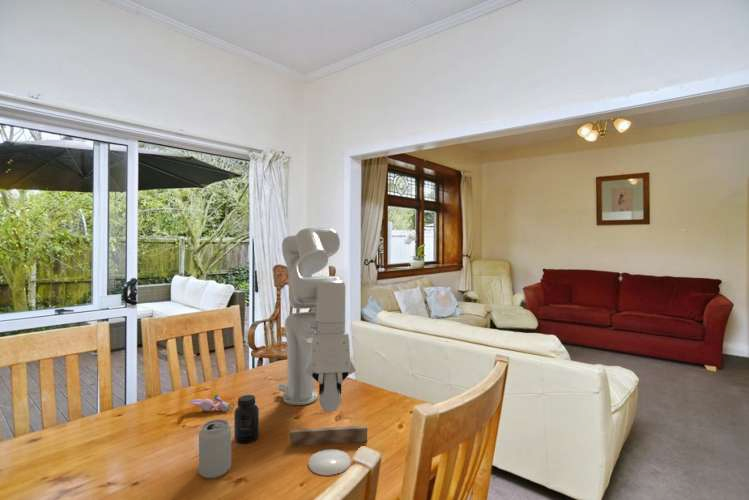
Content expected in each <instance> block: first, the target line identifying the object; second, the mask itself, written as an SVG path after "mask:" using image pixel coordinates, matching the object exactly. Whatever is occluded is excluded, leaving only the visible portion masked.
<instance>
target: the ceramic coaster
mask: <svg viewBox="0 0 749 500" xmlns="http://www.w3.org/2000/svg"><path fill="white" fill-rule="evenodd" d="M351 461H352V459H351V457H350V455H349V454H348V453H347V452H345V451H343V450H340V449H334V448H333V449H332V448H331V449H323V450H319V451H318V452H315V453H313V454H312V455H311V456H310V457H309V460H308V468H309V470H310V471H312V472H313V473H314V474H317V475H319V476H334V475H333V474H336V475H338V474H337V473H339V474H341V473H344V472H345V471H346V470H348V469H349V468H350V466H351Z"/></svg>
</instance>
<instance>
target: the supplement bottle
mask: <svg viewBox="0 0 749 500" xmlns="http://www.w3.org/2000/svg"><path fill="white" fill-rule="evenodd" d="M259 412H260V410H259V407H258V405H257V404H256V397H255V395H253V394H245V395H241V396H239V397H238V399H237V407H236V408H235V410H234V412H233V413H234V416H233V418H234V419H233V422H234V426H233V427H234V431H233V432H234V441H235V442H236V443H238V444H243V445H244V444H250V443H253V442H255V441H257V439H258V438H259V435H260V427H259V426H260V423H259V422H260V420H259V419H260V416H259V415H260V413H259Z"/></svg>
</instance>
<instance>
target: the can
mask: <svg viewBox="0 0 749 500" xmlns="http://www.w3.org/2000/svg"><path fill="white" fill-rule="evenodd" d="M231 466H232V428H231V425H229V421H228V420H226V419H223V418H222V419H221V418H220V419H219V418H218V419H212V420H209V421H206V422H205V423H204V424H202V426H201V430H200V431H199V432H198V473H199V475H200V476H202V477H204V478H205V479H217V478H220V477H222V476H223V475H225V474H226V473H227V472H228V471H229V470H230V469H231Z"/></svg>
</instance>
